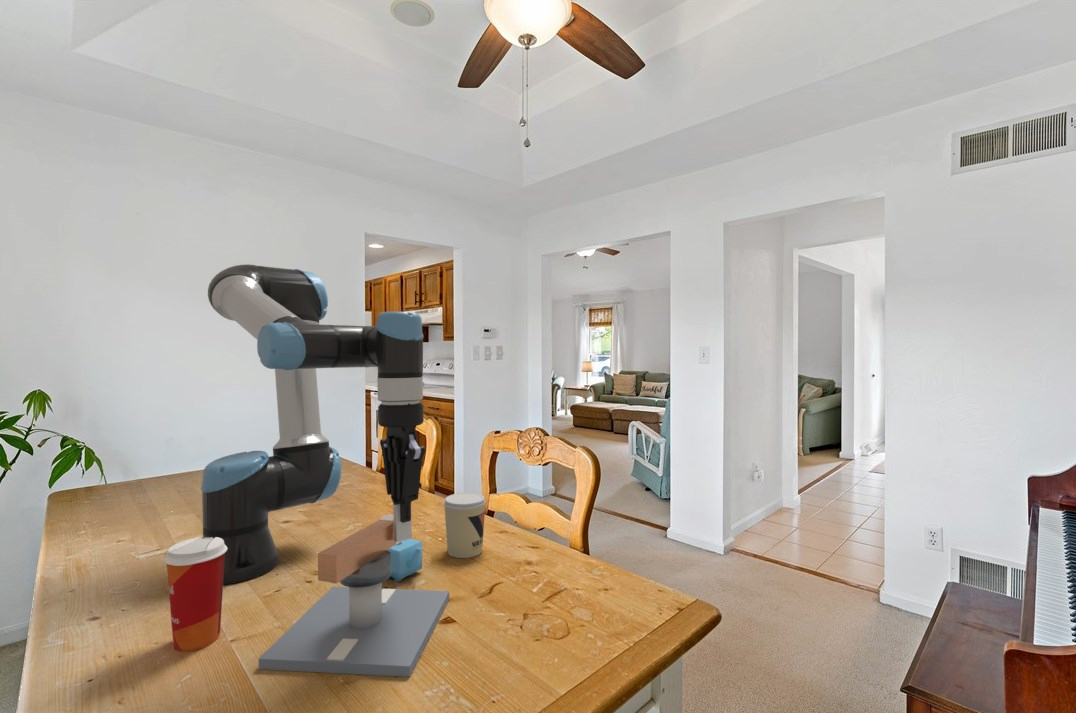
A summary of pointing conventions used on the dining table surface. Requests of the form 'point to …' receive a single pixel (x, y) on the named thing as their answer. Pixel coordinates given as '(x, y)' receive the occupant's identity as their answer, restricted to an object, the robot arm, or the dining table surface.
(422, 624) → the striped base plate
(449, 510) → the coffee cup
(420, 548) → the teapot
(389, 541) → the t handle
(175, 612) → the coffee cup
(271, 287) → the robot arm
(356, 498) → the dining table surface
